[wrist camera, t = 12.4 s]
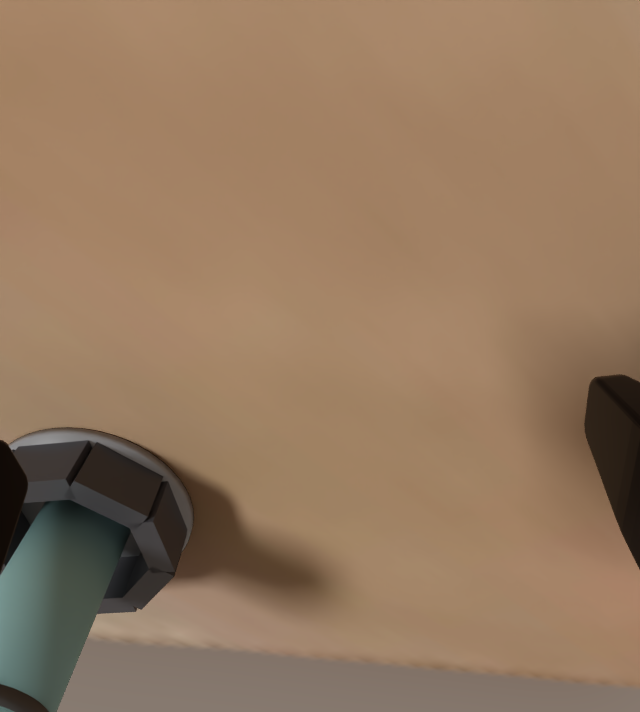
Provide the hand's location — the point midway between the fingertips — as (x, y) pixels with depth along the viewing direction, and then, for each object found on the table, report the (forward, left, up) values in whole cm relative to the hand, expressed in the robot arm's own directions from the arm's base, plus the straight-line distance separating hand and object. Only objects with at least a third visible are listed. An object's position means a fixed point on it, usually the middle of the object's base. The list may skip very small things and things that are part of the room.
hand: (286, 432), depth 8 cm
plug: (+14, +14, -13) cm, 24 cm away
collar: (+14, +14, -13) cm, 24 cm away
